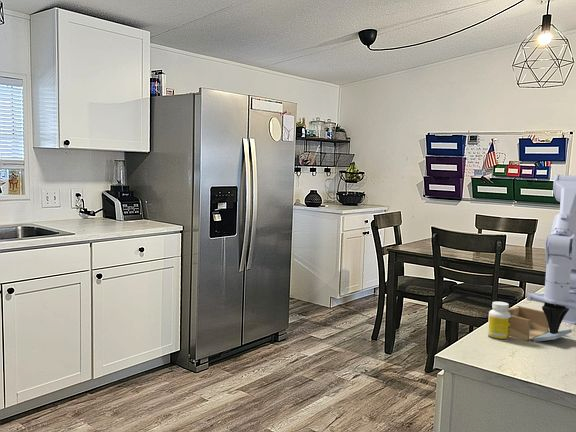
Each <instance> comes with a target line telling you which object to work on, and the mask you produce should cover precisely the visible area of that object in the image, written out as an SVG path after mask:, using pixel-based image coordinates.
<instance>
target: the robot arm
mask: <svg viewBox="0 0 576 432" xmlns="http://www.w3.org/2000/svg"><path fill="white" fill-rule="evenodd" d="M552 186H553V187H552V192H553V196H554V198H555V200H556V201H557V202H559V203H560V204H559V213H557V214H556V215H555V216H554V217H553V220H552V225H551V229H550V233H549V236H546V239H545V243H544V244H545V245H544V252H545V264H546V265H545V266H546V267H545V280H544V292H543V293H536V292H531V291H530V292H527V293H526V300H527V301H529V302H530V301H532V302H537V303H542V304H543V305H542V307H541V309H542V310H541V311H543V312H544V313H545V316H546V318H547V321H548V325H549V331H550V333H552V334H556V333H558V331H560V330H559V329H560V326H561V323H562V322H563V323H566V324H572V325H575V324H576V175H572V174H571V175H568V174H567V175H565V174H564V175H563V174H556V175H555V176H554V179H553V185H552Z"/></svg>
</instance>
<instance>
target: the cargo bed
mask: <svg viewBox="0 0 576 432" xmlns="http://www.w3.org/2000/svg"><path fill="white" fill-rule="evenodd" d="M507 311H508V312H509V313H510V314H511V321H510V335H509V337H511V338H515V339H519V340H521V341H526V342H530V343H532V342H534V341H533V338H536V337H538V336H541V335H543V334H546V333H548V332H550V330H549V325H548V321H547V318H546V316H545V313H544V311H543V310H538V309H533V308H529V307H524V306H521V305H516V306H513V307H509V309H508V310H507Z"/></svg>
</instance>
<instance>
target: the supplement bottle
mask: <svg viewBox="0 0 576 432" xmlns="http://www.w3.org/2000/svg"><path fill="white" fill-rule="evenodd" d="M491 306H492V307H491V308H492V309H491V310H489V311H488V321H487V333H486V334H487V335H486V336H487V338H489V339H490V340H493V341H501V342H507V341H509V340H510V336H509V335H510V321H511V314H510V313H509V312H508V311H507V310H508V309H509V308H510V307H509V303H508V302H504V301H492V304H491Z"/></svg>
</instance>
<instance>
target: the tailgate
mask: <svg viewBox="0 0 576 432" xmlns="http://www.w3.org/2000/svg"><path fill="white" fill-rule="evenodd" d="M571 333H573V330H572V329H571V328H569V329H563V330H558V333H556V334H552V333H550V332H549V331H548V333H546V334H543V335H541V336H538V337H536V338H533V342H542V341H543V342H544V341H550V340H551V341H552V340H556V339H560V338H562V337H564V336H566V335H568V334H571Z"/></svg>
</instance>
